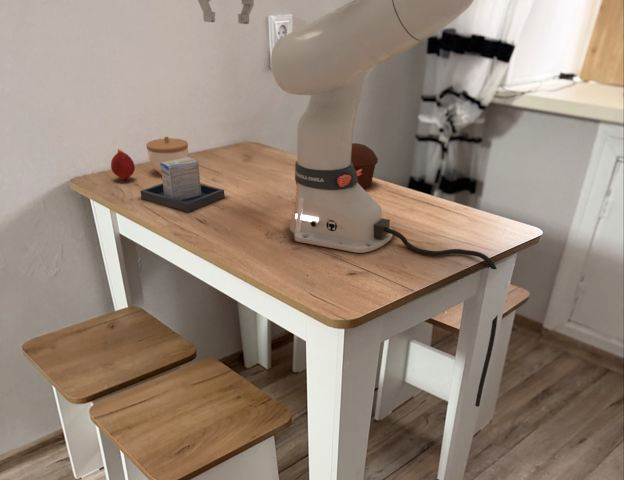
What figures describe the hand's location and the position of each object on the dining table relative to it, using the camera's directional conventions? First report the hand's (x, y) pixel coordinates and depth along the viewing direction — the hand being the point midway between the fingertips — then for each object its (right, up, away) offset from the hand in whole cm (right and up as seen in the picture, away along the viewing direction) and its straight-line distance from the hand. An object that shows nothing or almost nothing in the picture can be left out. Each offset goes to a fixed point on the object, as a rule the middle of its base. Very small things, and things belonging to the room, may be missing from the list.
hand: (227, 23), depth 120 cm
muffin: (+28, -23, +36) cm, 51 cm away
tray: (-14, -29, +25) cm, 41 cm away
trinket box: (-21, -18, +42) cm, 50 cm away
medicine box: (-14, -29, +25) cm, 41 cm away
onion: (-32, -22, +36) cm, 53 cm away
